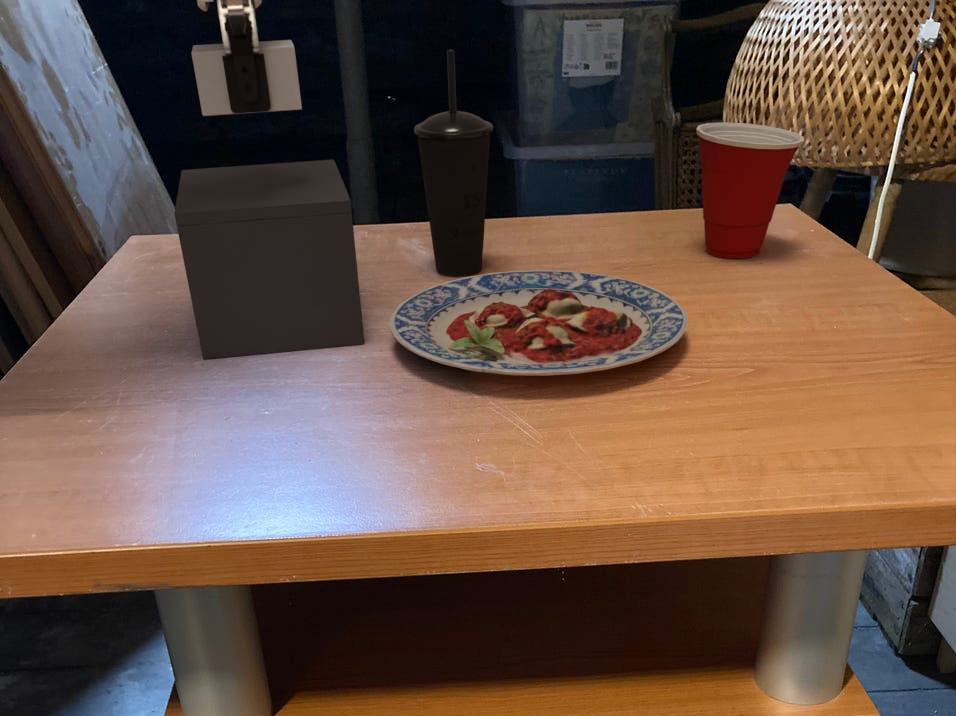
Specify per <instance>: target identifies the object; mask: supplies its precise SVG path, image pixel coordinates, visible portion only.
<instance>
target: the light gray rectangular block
mask: <svg viewBox="0 0 956 716" xmlns="http://www.w3.org/2000/svg"><path fill="white" fill-rule="evenodd" d="M230 45H231V44H230ZM259 47H260V53H264V60H265V67H266V74H267V82H268V89H269V96H270V103H271V108H270V110H269V111H265V112H264V113H271V112H272V113H273V112H285V111H300V110H302V109H303V106H302V97H301V91H300V90H301V89H300V82H299V73H298V64H297V56H296V49H295V45H294V42H293V41H292V40H291V39H282V40H281V39H280V40H265V41H264V40H263V41H259ZM231 53H232V50H231ZM253 54H254V51H253ZM222 56H225V52H224V46H223V43H212V44H196V45H195V44H194V45H193V46H192V49H191V58H192V64H193V70H194V75H195V81H196V87H197V90H198V91H197V92H198V98H199V103H200V109H201V115H202V116H203V117H210V116H225V115H240V114H244V113H233V112H232V111H231V108H230V102H229V95H228V89H227V83H226V77H225V71H224V64H223V58H222ZM255 113H259V112H250V113H249V114H255Z"/></svg>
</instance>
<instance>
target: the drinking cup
mask: <svg viewBox="0 0 956 716" xmlns="http://www.w3.org/2000/svg"><path fill="white" fill-rule="evenodd" d="M446 57H447V58H446V59H447V60H446V61H447V62H446V63H447V83H448V109H449V110H448V111H443V112H439V113H436V114H433V115H431V116H429V117H428V118H426V119H425V120H423V121H422V122H420V123H418V124H416V125H414V128H413V133H414V135H415V136H417V141H418V149H419V157H420V165H421V171H422V178H423V185H424V192H425V199H426V207H427V213H428V222H429V228H430V235H431V236H430V237H431V242H432V250H433V251H432V252H433V257H434V265H435V271H436V272H437V273H438V274H440V275H441V276H442V275H443V276H446V277H470V276H474V275H477V274H478V273H480V272H482V270H483V255H484V241H485V226H486V210H487V209H486V208H487V207H486V206H487V190H488V174H489V160H490V159H489V158H490V144H491V143H490V141H491V134H492V133H493V131H494V126H493V123H492V122H489V121H487V120H485V119H483V118H481V117H480V116H478V115H476V114H473V113H471V112H467V111H461V110H457V92H456V91H457V89H456V61H455V49H447V50H446Z"/></svg>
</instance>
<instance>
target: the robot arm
mask: <svg viewBox="0 0 956 716" xmlns="http://www.w3.org/2000/svg"><path fill="white" fill-rule="evenodd" d="M196 2H197V6H198V8H199V9H200V10H202V11H203V12H208V11H209V4H210V3H212V2H214V0H196ZM215 2H216V6H217V16H218V19H219V26H220V32H221V39H222V44H223V46H224V52H225V56H222V58H223V64H224V71H225V77H226V83H227V89H228V95H229V102H230V108H231V111H232V112H233V113H243V114H251V113H250V112H258V113H266V112H265V111H269V110H270V108H271V103H270V96H269V89H268V82H267V74H266V67H265V60H264V53H260V47H259V42H260V39H259V34H258V25H257V20H256V9H257V8H259V7H260V5H261V4H262V3H263V0H216V1H215ZM230 44H231V45H230ZM231 50H232V53H231ZM253 51H254V54H253Z"/></svg>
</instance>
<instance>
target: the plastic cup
mask: <svg viewBox="0 0 956 716" xmlns="http://www.w3.org/2000/svg"><path fill="white" fill-rule="evenodd" d="M695 131H696V135H697V136H698V143H699V152H700V165H701V187H702V188H701V194H702V219H703V221H704V222H703V223H704V245H705V248H706V250H705V251H706V252H707V253H708V254H709V255H712V256H714V255H715V256H714V257H716V256H718V257H717V258H722V257H725V258H724V259H732V258H741V259H749V257H750V258H753V257H752V256H754V257H756V256H758V255H759V254H760V252H761V249H762V248H763V246H764V243H765V239H766V236H767V232H768V228H769V225H770V223H771V222H772V218H773V216H774V212H775V209H776V206H777V203H778V200H779V197H780V193H781V191H782V187H783V184H784V181H785V179H786V174H787V171H788V170H789V168H790V165H791V162H792V160H794V157H795V154H796V153H797V151H798V149H799V147H800V146H802V145H803V143H804V142H805V137H804V136H803V135H801V134H799V133H797V132H794V131H790V130H788V129H784V128H779V127H774V126H769V125H763V124H756V123H755V124H754V123H745V122H744V123H743V122H723V121H721V122H707V123H703V124H699V125H697V127H696V129H695Z"/></svg>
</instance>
